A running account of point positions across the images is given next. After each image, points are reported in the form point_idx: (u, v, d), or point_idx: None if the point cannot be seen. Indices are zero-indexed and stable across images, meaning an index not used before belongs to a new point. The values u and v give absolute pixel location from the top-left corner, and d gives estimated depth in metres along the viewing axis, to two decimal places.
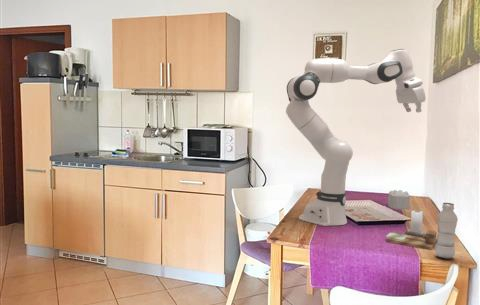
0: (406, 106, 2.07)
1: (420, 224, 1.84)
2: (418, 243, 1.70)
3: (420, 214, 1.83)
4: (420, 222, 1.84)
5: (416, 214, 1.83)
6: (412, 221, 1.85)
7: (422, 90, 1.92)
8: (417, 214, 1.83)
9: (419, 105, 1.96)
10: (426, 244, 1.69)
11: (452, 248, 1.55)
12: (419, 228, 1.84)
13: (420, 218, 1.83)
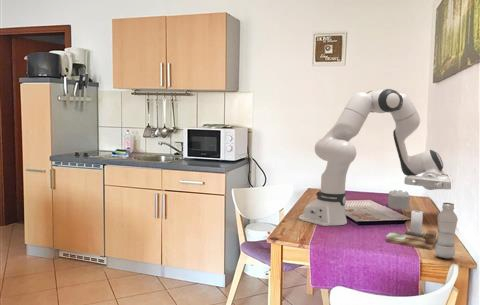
0: None
1: (420, 224, 1.84)
2: (418, 243, 1.70)
3: (420, 214, 1.83)
4: (420, 222, 1.84)
5: (416, 214, 1.83)
6: (412, 221, 1.85)
7: None
8: (417, 214, 1.83)
9: (441, 185, 1.93)
10: (426, 244, 1.69)
11: (452, 248, 1.55)
12: (419, 228, 1.84)
13: (420, 218, 1.83)
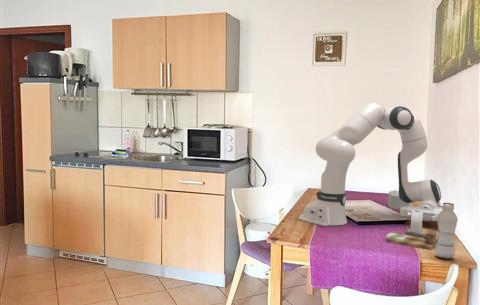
0: None
1: (420, 224, 1.84)
2: (418, 243, 1.70)
3: (420, 214, 1.83)
4: (420, 222, 1.84)
5: (416, 214, 1.83)
6: (412, 221, 1.85)
7: None
8: (417, 214, 1.83)
9: (436, 218, 1.91)
10: (426, 244, 1.69)
11: (452, 248, 1.55)
12: (419, 228, 1.84)
13: (420, 218, 1.83)
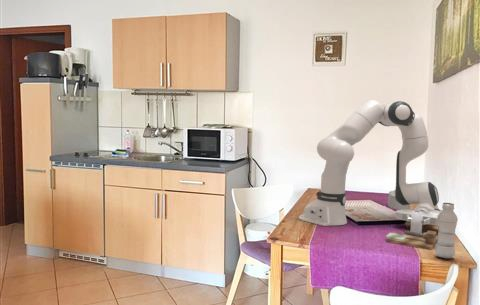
0: None
1: (420, 224, 1.84)
2: (418, 243, 1.70)
3: (420, 214, 1.83)
4: (420, 222, 1.84)
5: (416, 214, 1.83)
6: (412, 221, 1.85)
7: None
8: (417, 214, 1.83)
9: (429, 221, 1.85)
10: (426, 244, 1.69)
11: (452, 248, 1.55)
12: (419, 228, 1.84)
13: (420, 218, 1.83)
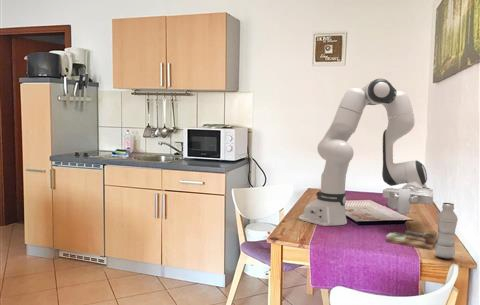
0: None
1: (408, 201, 1.78)
2: (418, 243, 1.70)
3: (408, 191, 1.77)
4: (407, 199, 1.77)
5: (403, 191, 1.77)
6: (399, 198, 1.79)
7: None
8: (404, 191, 1.77)
9: (416, 199, 1.79)
10: (426, 244, 1.69)
11: (452, 248, 1.55)
12: (406, 206, 1.78)
13: (407, 195, 1.77)
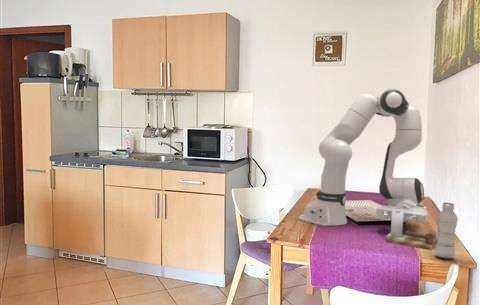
0: None
1: (401, 225, 1.77)
2: (418, 243, 1.70)
3: (400, 215, 1.76)
4: (400, 223, 1.76)
5: (396, 215, 1.76)
6: (392, 222, 1.78)
7: None
8: (397, 215, 1.76)
9: (415, 219, 1.77)
10: (426, 244, 1.69)
11: (452, 248, 1.55)
12: (399, 229, 1.77)
13: (400, 219, 1.76)
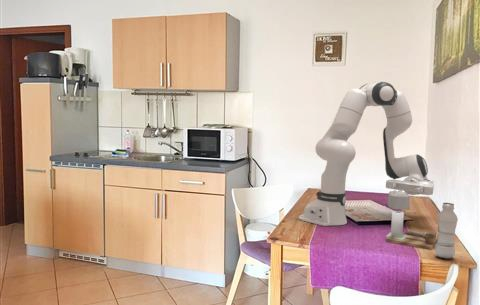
0: None
1: (401, 225, 1.77)
2: (418, 243, 1.70)
3: (401, 215, 1.76)
4: (401, 223, 1.76)
5: (396, 215, 1.76)
6: (392, 222, 1.78)
7: None
8: (397, 215, 1.76)
9: (422, 190, 1.89)
10: (426, 244, 1.69)
11: (452, 248, 1.55)
12: (399, 229, 1.77)
13: (401, 219, 1.76)
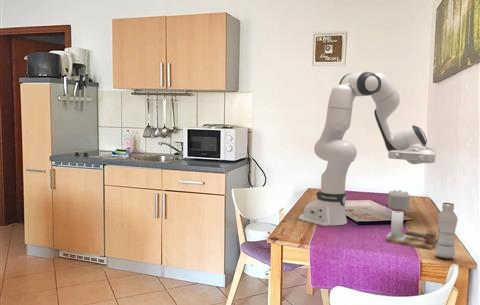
0: None
1: (401, 225, 1.77)
2: (418, 243, 1.70)
3: (400, 215, 1.76)
4: (400, 223, 1.76)
5: (396, 215, 1.76)
6: (392, 222, 1.78)
7: None
8: (397, 215, 1.76)
9: (424, 158, 1.92)
10: (426, 244, 1.69)
11: (452, 248, 1.55)
12: (399, 229, 1.77)
13: (400, 219, 1.76)
